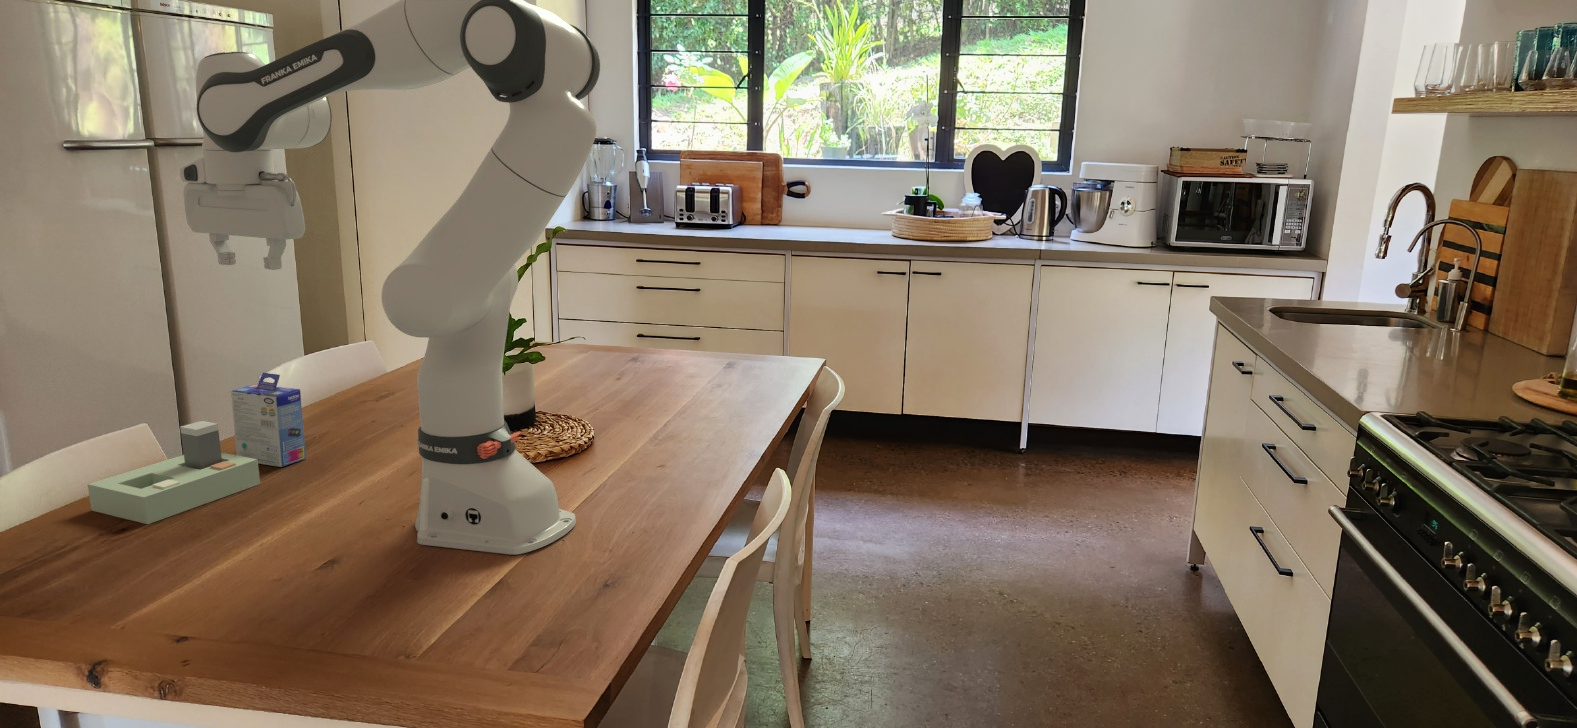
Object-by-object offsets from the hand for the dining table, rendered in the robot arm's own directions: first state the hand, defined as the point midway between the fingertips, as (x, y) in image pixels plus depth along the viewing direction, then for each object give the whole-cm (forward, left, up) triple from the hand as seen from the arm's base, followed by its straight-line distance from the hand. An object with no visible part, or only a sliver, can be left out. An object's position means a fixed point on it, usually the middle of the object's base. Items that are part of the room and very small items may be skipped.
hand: (250, 267), depth 145 cm
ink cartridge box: (+11, -9, -34) cm, 37 cm away
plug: (+9, +4, -34) cm, 36 cm away
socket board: (+9, +9, -34) cm, 36 cm away
